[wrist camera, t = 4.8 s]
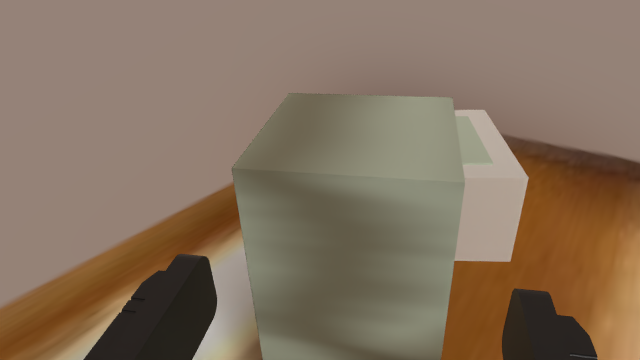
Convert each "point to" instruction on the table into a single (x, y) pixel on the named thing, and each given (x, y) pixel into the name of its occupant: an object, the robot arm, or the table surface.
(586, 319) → the table surface
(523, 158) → the table surface
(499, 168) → the cream base block
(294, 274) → the sage pillar
